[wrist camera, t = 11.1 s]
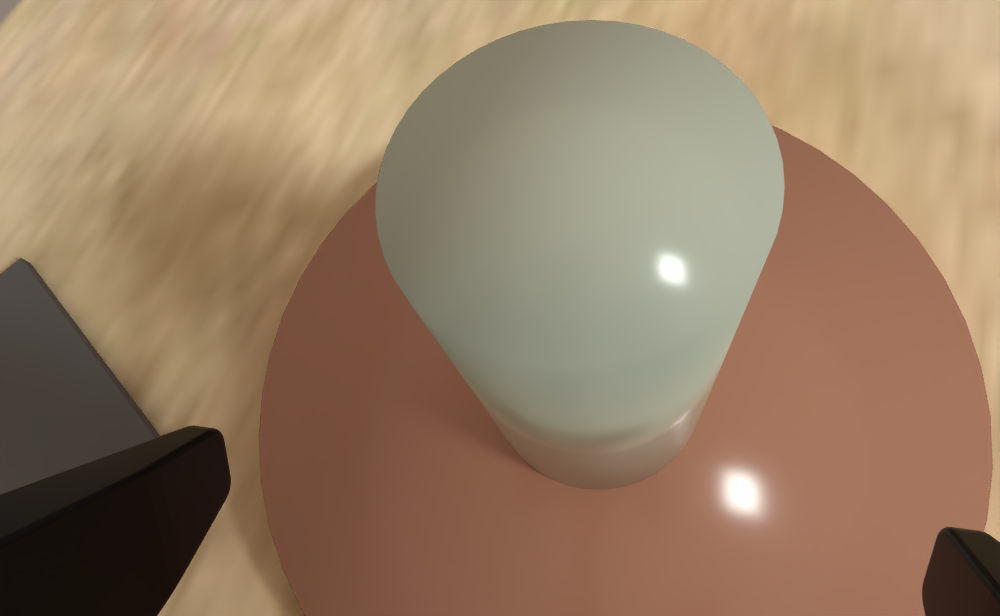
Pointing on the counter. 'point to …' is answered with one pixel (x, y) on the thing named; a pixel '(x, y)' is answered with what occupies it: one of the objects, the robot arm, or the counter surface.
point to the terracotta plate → (670, 492)
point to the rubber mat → (54, 388)
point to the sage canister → (584, 236)
